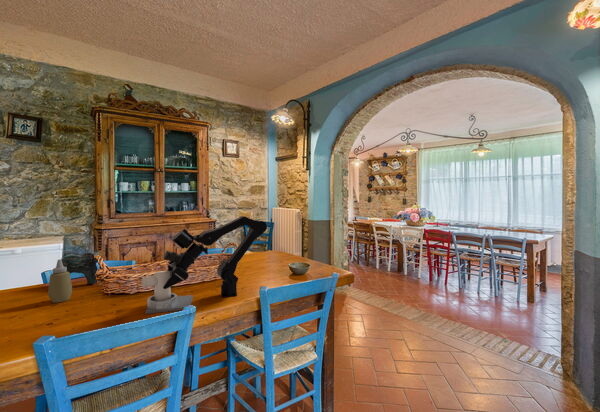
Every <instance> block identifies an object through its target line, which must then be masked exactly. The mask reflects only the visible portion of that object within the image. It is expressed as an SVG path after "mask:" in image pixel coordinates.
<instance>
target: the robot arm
mask: <svg viewBox="0 0 600 412" xmlns="http://www.w3.org/2000/svg"><path fill="white" fill-rule="evenodd" d="M243 226H247V227H248V231H247V233H246V235H245V237H244V238H243V239H242V241H241V242H240V244H238V246H237V247H236V248H235V250H234V251H233V252H232V253H231V256H229V258H228V259H226V260H225V259H222V260H221V262H220V264H219V265H218V266H217V268H216V273H217V276H218V277H220V278H221V280H222V283H221V284H220V294H221V297H222V298H228V297H237V296H238V292H237V289H238V288H237V283H238V281H239V277H237V275H235V272H236V270H237V267H238V264H239V263H240V261H241V260H242V258H243V257H244V256H245V254H246V253H247V251H248V250H249V249H250V247H251V246H252V245H253V243H254V242H255V240H257V239H258V238H259V237H261V236H262V235H263V234H264V233H265V232H266V231H267V229H268V226H267V223H266V221H263V220H259V219H256V220H255V219H252V218H249V217H247V216H245V215H240V216H239V217H237V218H236V219H234V220H231V221H229V222H227V223H225V224H223V225H221V226H219V227H216V228H212V229H208V230H204V231H202V232H200V233H199V234H194V235H192V234H191V233H190V232H189V231H188V230H187V229H186V228H182V229H181V230H180V231H179V232H177V233H175V235H174V236H173V237H172V239H171V241H172V242H173V243H174V244H175V245H177V246H178V247H180V249H182V250H183V249H186V250H185V251H184V252H181V253H177V252H175V251H169V250H166V251H165V253H164V255H163V257H162V258H163V260H165V261H168V262H167V270H166V271H170V278H169V279H168V281H167V282H166V284H165V285H164V287H163V288H164V289H167V288H169V287H172V286H175V285H177V284H180V283H181V282H184V281H186V280H188V278H189V277H190V276H189V272H188V271H189V270H188V269H189V268H190V267H191V265H194V264H195V263H196V262H195V261H196V260H197V259H198V258H199V257H200V256H201V254H203V253H204V254H205V255H208V254H209V252H208V251H209V246H212V245H213V244H215V243H216V242H218V240H219V239H220V238H222V237H223V236H225V235H227V234H230V233H231V232H234V231H235V230H238V229H239V228H241V227H243ZM196 242H197V243H196ZM203 245H204V246H203ZM205 246H207V247H205Z"/></svg>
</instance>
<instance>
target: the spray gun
mask: <svg viewBox="0 0 600 412" xmlns="http://www.w3.org/2000/svg"><path fill="white" fill-rule="evenodd" d="M82 247H83V248H84V249H85V251H84V253H83V254H81V253H76V252H67V253H65V254H63V255H62V257H61V258H60V259H61V260H62V263H63V266H64V267H67V272H69V273H70V275H71V274H73V273H75V274H82V275H84V277H85V278H86V285H87V284H95V283H97V280H96V276H95V273H96V271H97V270H98V266H97V264H98V263H99V262H98V260H97V259H95V258H94V255H100V256H101V257H102V255H101V253H100V252H99V250H98V249H95V250H93V251H89V250H87V248H86V246H84V245H80V246H79V247H78V249H80V248H82ZM72 254H73V255H72ZM97 284H98V283H97ZM95 285H96V284H95Z"/></svg>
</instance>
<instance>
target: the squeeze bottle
mask: <svg viewBox="0 0 600 412" xmlns="http://www.w3.org/2000/svg"><path fill="white" fill-rule="evenodd" d="M61 259H62V258H59V259H57V261H56V266H55V267H53V268H52V273H51V274H50V275H49V282H48V293H47V295H48V298H49V299H50V301H51V303H62V302H66V301H69V300H70V298H71V297H72V296H71V295H72V292H73V285H72V280H71V274H70V273H69V272H67V267H64V266H63V263H62V260H61Z"/></svg>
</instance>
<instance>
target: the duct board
mask: <svg viewBox="0 0 600 412" xmlns="http://www.w3.org/2000/svg"><path fill="white" fill-rule="evenodd" d="M193 298H194V296H193V294H189V295H178V294H176V293H174V292H171V299H169V300H165V301H155V299H154V294H153V295H151V296H149V297H148V298H147V300H146V303H147V307H146V310H145V314H146V315H147V314H157V313H168V311H169V312H176V311H177V312H179V311H184V310H183V308H184V307H185V306H188V305H192V303H193Z"/></svg>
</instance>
